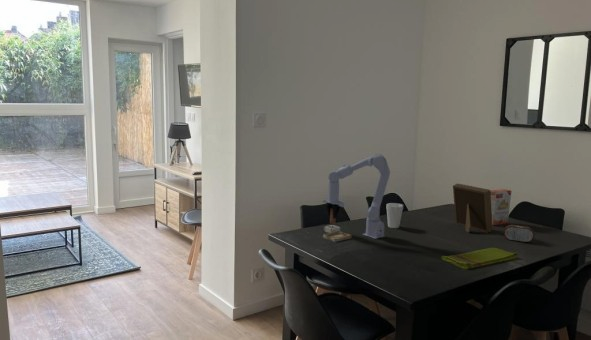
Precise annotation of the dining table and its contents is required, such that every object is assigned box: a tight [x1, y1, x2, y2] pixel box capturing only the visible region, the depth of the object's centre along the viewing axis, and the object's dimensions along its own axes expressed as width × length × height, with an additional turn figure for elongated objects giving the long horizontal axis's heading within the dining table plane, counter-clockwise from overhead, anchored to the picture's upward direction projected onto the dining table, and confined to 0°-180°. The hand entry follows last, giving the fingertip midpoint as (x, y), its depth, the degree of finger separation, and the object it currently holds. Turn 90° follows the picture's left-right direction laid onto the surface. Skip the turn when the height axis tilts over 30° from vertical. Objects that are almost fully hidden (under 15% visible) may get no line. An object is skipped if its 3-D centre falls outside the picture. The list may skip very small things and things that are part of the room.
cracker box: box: [489, 188, 512, 227], centre depth 287 cm, size 14×6×21 cm, turn 120°
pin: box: [329, 208, 337, 225], centre depth 259 cm, size 3×3×8 cm
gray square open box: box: [323, 224, 342, 233], centre depth 260 cm, size 6×6×3 cm
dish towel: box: [440, 247, 519, 270], centre depth 223 cm, size 15×36×3 cm, turn 119°
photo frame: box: [452, 183, 493, 234], centre depth 273 cm, size 15×22×25 cm
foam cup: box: [385, 202, 404, 229], centre depth 274 cm, size 10×9×13 cm
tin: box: [503, 224, 536, 243], centre depth 253 cm, size 15×3×8 cm, turn 65°
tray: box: [322, 231, 353, 243], centre depth 249 cm, size 10×12×2 cm
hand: (332, 217), depth 259 cm, fingers closed on pin, 3 cm apart
